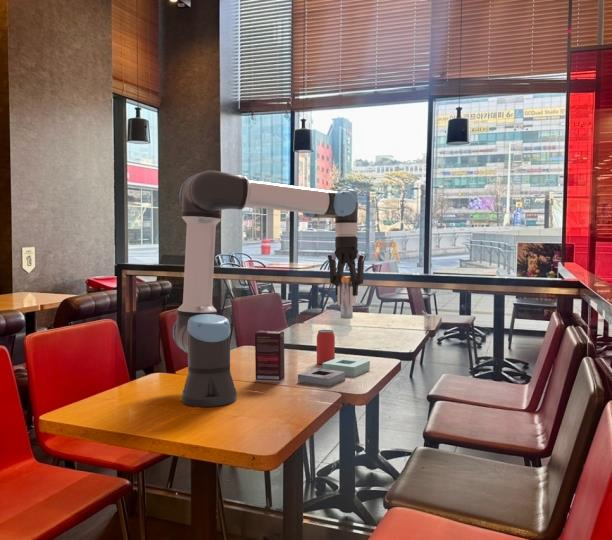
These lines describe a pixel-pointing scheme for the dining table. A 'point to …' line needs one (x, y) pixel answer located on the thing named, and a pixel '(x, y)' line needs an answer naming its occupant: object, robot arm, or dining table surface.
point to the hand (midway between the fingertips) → (346, 305)
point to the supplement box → (269, 356)
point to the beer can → (325, 346)
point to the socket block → (347, 366)
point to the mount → (321, 377)
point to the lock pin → (346, 298)
